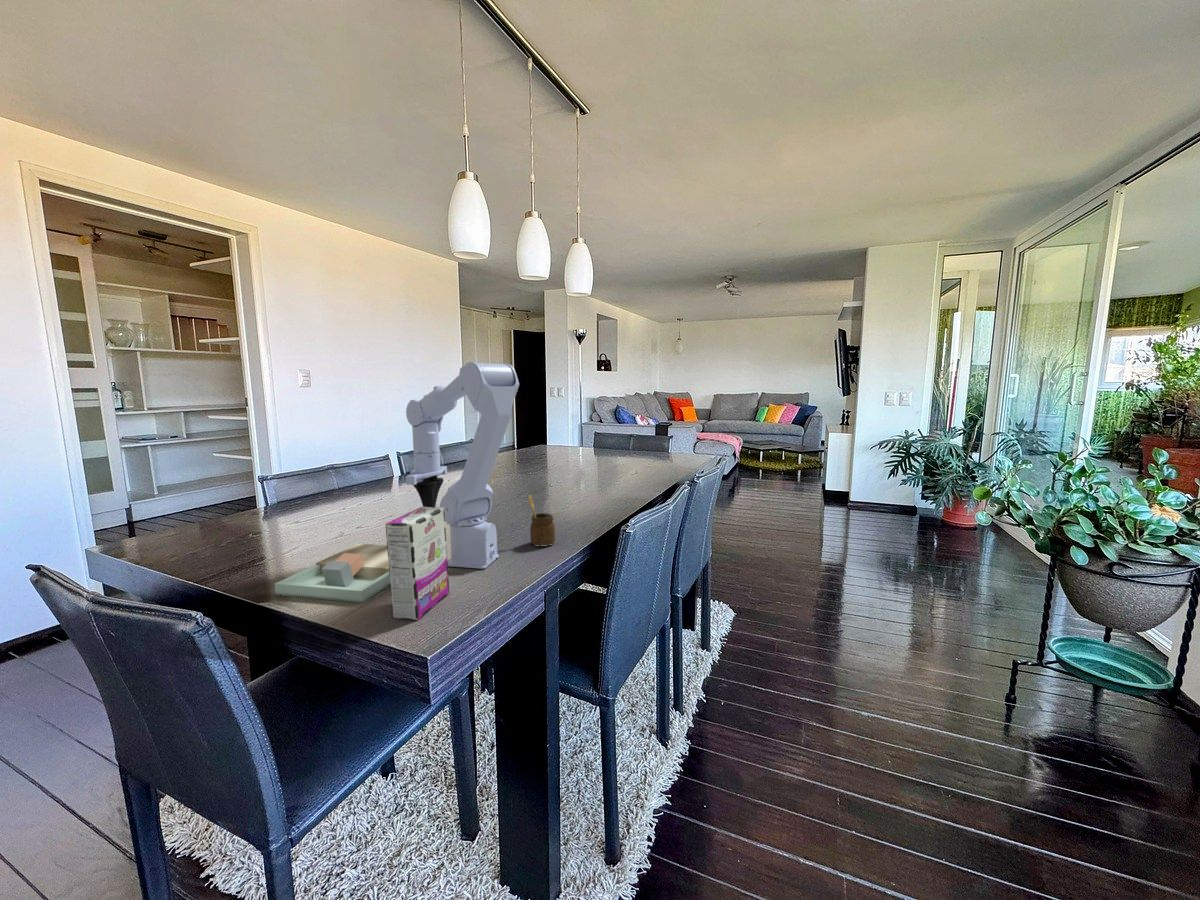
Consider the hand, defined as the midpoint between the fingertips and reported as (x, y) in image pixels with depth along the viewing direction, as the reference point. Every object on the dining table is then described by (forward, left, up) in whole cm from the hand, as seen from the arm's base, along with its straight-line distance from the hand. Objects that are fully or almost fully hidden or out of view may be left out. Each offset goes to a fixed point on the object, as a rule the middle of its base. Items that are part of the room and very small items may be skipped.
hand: (429, 509), depth 116 cm
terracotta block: (+5, +21, -7) cm, 23 cm away
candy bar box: (-15, +29, -10) cm, 34 cm away
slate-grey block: (+5, +24, -6) cm, 25 cm away
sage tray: (+5, +25, -9) cm, 27 cm away
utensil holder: (-25, -8, -10) cm, 28 cm away
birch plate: (+5, +14, -9) cm, 17 cm away
